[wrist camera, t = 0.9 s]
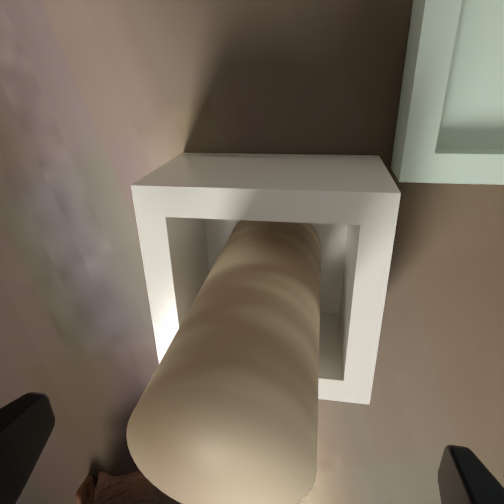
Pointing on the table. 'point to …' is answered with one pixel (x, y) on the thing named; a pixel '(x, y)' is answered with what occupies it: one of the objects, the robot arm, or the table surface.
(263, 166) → the white square tube
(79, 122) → the table surface
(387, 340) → the table surface
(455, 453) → the robot arm
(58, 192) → the table surface
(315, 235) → the dowel
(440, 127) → the tray
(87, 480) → the brown rounded hollow piece
